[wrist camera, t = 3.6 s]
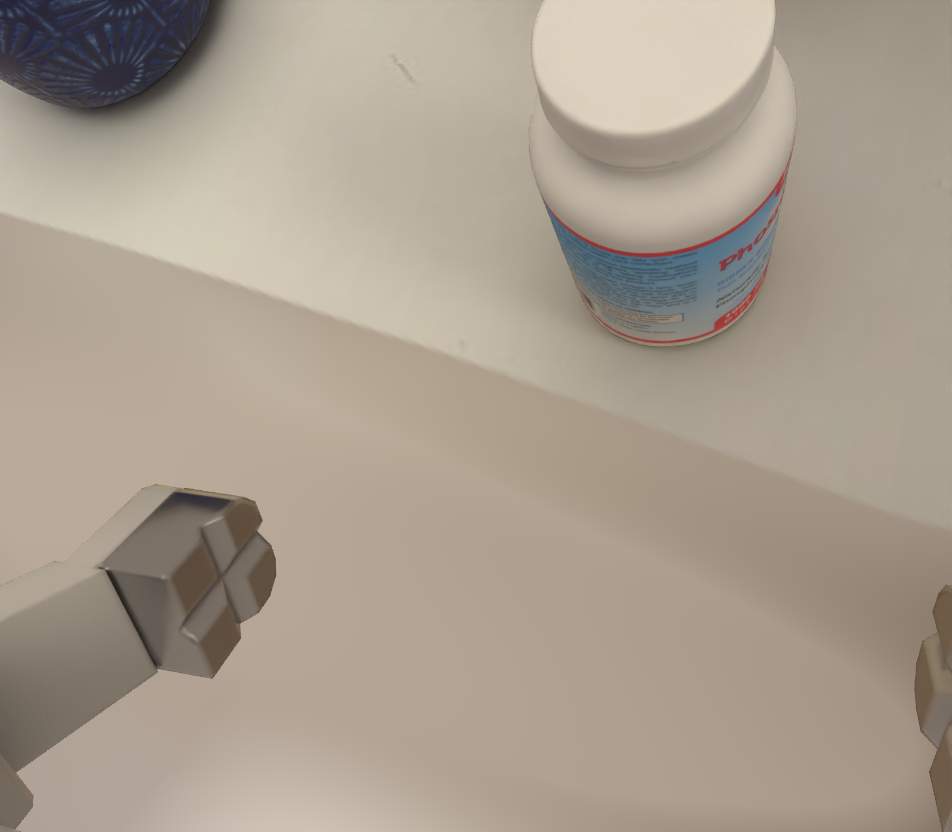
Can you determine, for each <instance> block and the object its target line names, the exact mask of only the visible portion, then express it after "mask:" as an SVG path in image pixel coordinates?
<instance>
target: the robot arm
mask: <svg viewBox="0 0 952 832" xmlns="http://www.w3.org/2000/svg"><path fill="white" fill-rule="evenodd" d="M261 523H262V518H261V515H260V513H259V510H258V508H257V505H256V503H255V501H253V500H250V499H248V498H245V497H241V496H234V495H227V494H221V493H215V492H207V491H202V490H195V489H189V488H184V489H183V488H176V487H171V486H164V485H157V484H155V485H151V486H148V487H145V488H142V489H141V490H140V491H139V492H138V493H137V494H136V495H135V496H134V497H133V498H132V499H131V500H130V501H128V502H127V503H126V504H125V505H124V506H123V507H122V508H121V509H120V510H119V511H118V512H117V513H116V514H115V515H114V516H113V517H111V519H109V520H108V521H107V522H106V523H105V524H104V525H103V526H102V527H101V528H100V529H99V530H98V531H97V532H95V534H93V535H92V536H91V537H90V538H89V539H88V540H87V541H86V542H85V543H84V544H83V545H82V546H81V547H80V548H79V549H78V550H76V551H75V552H74V553H73V554H72V555H71V556H70V557H69V558H68V559H67V560H66V561H65V562H56V561H54V562H52V563H49V564H47V565H45V566H43V567H40V568H38V569H36V570H34V571H31V572H29V573H27V574H25V575H23V576H20V577H19V578H16V579H14V580H12V581H9V582H7V583H5V584H3V585H0V832H20V831H17V830H15V829H16V828H17V826H18V825H19V824H20V823H21V821H22V820H23V819H24V817H25V816H26V815H27V813H28V812H29V811H30V810H31V808H32V807H33V795H32V793H31V792H30V791H29V789H28V788H27V787H26V785H25V784H24V783H23V781H22V780H21V779H20V778H19V776H18V775H17V774H16V772H17V771H19V770H20V769H22V768H23V767H25V766H26V765H27V764H29V763H30V762H32V761H33V760H35V759H36V758H37V757H39V756H40V755H42V754H43V753H44V752H46V751H47V750H49V749H50V748H51V747H53V746H54V745H56V744H57V743H58V742H60V741H61V740H63V739H64V738H66V737H67V736H68V735H70V734H71V733H73V732H74V731H75V730H77V729H78V728H80V727H81V726H83V725H84V724H85V723H87V722H88V721H90V720H91V719H92V718H94V717H95V716H97V715H98V714H99V713H101V712H102V711H104V710H105V709H106V708H108V707H109V706H111V705H112V704H114V703H115V702H116V701H118V700H119V699H121V698H122V697H123V696H125V695H126V694H128V693H129V692H131V691H132V690H133V689H135V688H136V687H138V686H139V685H141V684H142V683H143V682H145V681H146V680H148V679H149V678H150V677H152V676H153V675H155V674H156V673H157V672H158V671H157V669H162V670H167V671H173V672H178V673H184V674H189V675H195V676H200V677H206V678H211V679H212V678H213V677H214V676H215V674H216V673H217V672H218V670H219V669H220V667H221V666H222V665H223V663H224V662H225V660H226V659H227V657H228V656H229V655H230V653H231V652H232V650H233V649H234V647H235V646H236V644H237V643H238V642H239V640H240V639H241V632H240V623H241V622H244V621H245V620H247V619H249V618H251V617H252V616H254V615H256V614H257V613H259V612H260V610H261V609H262V607H263V606H264V604H265V603H266V601H267V600H268V598H269V597H270V594H271V591H272V587H273V584H274V580H275V577H276V559H275V556H274V554H273V553H274V552H273V550H272V546H271V545H270V544H269V543H268V542H267V541H266V540H265V539H264V538H263V537H262V536H261V535H260V534H259V533H258V532H257V530H258V529H259V527H260V525H261ZM933 615H934V619H935V623H936V626H937V631H938V632H937V633H936V634H934V635H932V636H930V637H929V638H927V639H925V640H923V642H922V646H921V649H920V652H919V656H918V660H917V663H916V677H915V699H916V710H917V715H918V720H919V725H920V730H921V732H922V733H923V734H924V735H925V737H927V739H928V740H929V741H930V742H931V743H932V744H933V745H934V746H935V747H936V748H937V749H938V750H937V753H936V755H935V758H934V761H933V764H932V766H931V769H930V771H929V773H930V777H931V782H932V786H933V791H934V795H935V800H936V805H937V809H938V813H939V818H940V823H941V827H942V832H952V585H945V587H944V588H943V589H942V590H941V591H940V593H939V594H938V597H937V600H936V603H935V606H934V609H933Z"/></svg>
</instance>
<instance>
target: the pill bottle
mask: <svg viewBox="0 0 952 832" xmlns="http://www.w3.org/2000/svg"><path fill="white" fill-rule="evenodd" d="M775 20H776V7H775V0H544V1H543V3H542V5H541V7H540V9H539V12H538V15H537V18H536V21H535V24H534V27H533V32H532V43H531V58H532V67H533V71H534V75H535V80H536V84H537V87H538V92H539V93H538V96H537V99H536V102H535V105H534V108H533V112H532V116H531V122H530V129H529V152H530V158H531V165H532V170H533V173H534V176H535V179H536V182H537V186H538V188H539V191H540V193H541V196H542V198H543V201H544V204H545V206H546V209H547V211H548V214H549V217H550V219H551V222H552V224H553V227H554V229H555V232H556V235H557V237H558V240H559V242H560V245H561V247H562V250H563V253H564V255H565V258H566V260H567V263H568V265H569V268H570V270H571V273H572V275H573V278H574V280H575V283H576V285H577V288H578V290H579V293H580V295H581V297H582V299H583V301H584V303H585V305H586V306H587V308H588V310H589V311H590V313H591V314H592V315H593V316H594V318H595V319H596V320H597V321H598V322H599V323H600V324H601V325H602V326H604V327H605V328H606V329H607V330H609V331H610V332H612V333H613V334H615V335H617V336H619V337H621V338H623V339H625V340H628V341H631V342H634V343H637V344H642V345H648V346H679V345H685V344H691V343H694V342H698V341H702V340H704V339H707V338H710V337H712V336H714V335H716V334H718V333H720V332H722V331H723V330H725V329H727V328H728V327H729V326H731V325H732V324H733V323H735V322H736V321H737V320H738V319H739V318H740V317H741V316H742V315H743V314H744V313H745V312H746V311H747V309H748V308H749V307H750V306H751V304H752V303H753V301H754V300H755V298H756V297H757V295H758V293H759V291H760V289H761V286H762V284H763V281H764V278H765V275H766V271H767V267H768V263H769V259H770V254H771V249H772V243H773V238H774V234H775V230H776V225H777V220H778V216H779V211H780V206H781V201H782V197H783V193H784V188H785V184H786V179H787V173H788V168H789V164H790V160H791V154H792V150H793V145H794V140H795V131H796V122H797V106H796V96H795V89H794V85H793V81H792V77H791V74H790V72H789V70H788V67H787V65H786V63H785V61H784V59H783V57H782V55H781V54H780V53H779V51H778V50H777V48H776V47H775V46H774V42H773V40H774V30H775Z"/></svg>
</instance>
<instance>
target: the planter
mask: <svg viewBox="0 0 952 832" xmlns="http://www.w3.org/2000/svg"><path fill="white" fill-rule="evenodd" d="M210 1H211V0H0V79H1V80H3V81H4V82H6V83H8V84H10V85H11V86H13V87H15V88H17V89H19V90H21V91H23V92H25V93H27V94H29V95H32V96H34V97H36V98H39V99H41V100H44V101H46V102H49V103H53V104H57V105H61V106H66V107H74V108H91V107H100V106H105V105H109V104H113V103H116V102H118V101H121V100H124V99H127V98H129V97H131V96H134V95H136V94H138V93H139V92H141V91H143V90H145V89H146V88H148V87H149V86H151V85H152V84H154V83H155V82H156V81H158V80H159V79H160V78H161V77H163V76H164V75H165V74H166V73H167V72H168V71H169V70H170V69H171V68H172V67H173V66H174V65H175V64H176V63H177V62H178V61H179V60H180V59H181V57H182V56H183V55H184V54H185V52H186V51H187V50H188V48H189V47H190V45H191V44H192V42H193V41H194V39H195V37H196V36H197V34H198V32H199V30H200V28H201V26H202V24H203V22H204V19H205V17H206V14H207V11H208V8H209V4H210Z"/></svg>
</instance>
